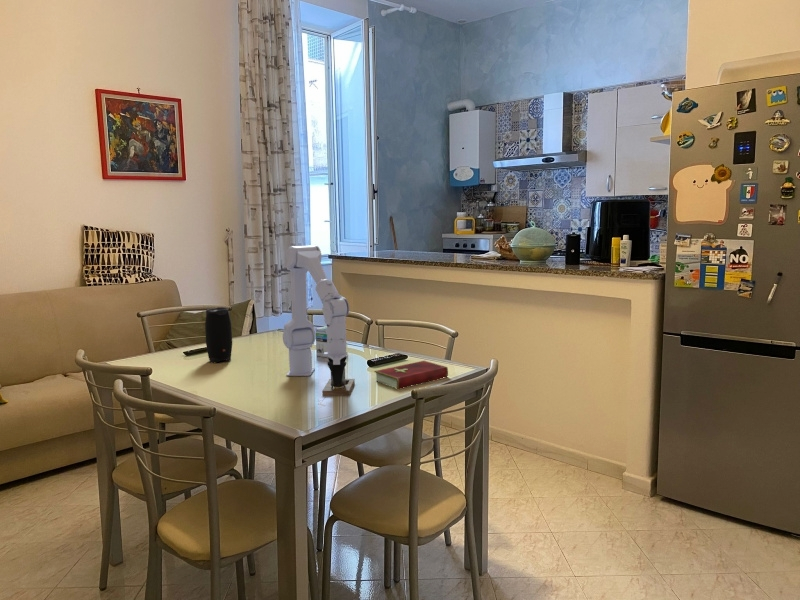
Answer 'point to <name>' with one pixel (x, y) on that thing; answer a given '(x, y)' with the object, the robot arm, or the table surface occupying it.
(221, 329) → the portable speaker
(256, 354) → the table surface
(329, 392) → the keyhole plate
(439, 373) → the hardcover book
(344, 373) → the peg
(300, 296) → the robot arm
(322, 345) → the light bulb box
